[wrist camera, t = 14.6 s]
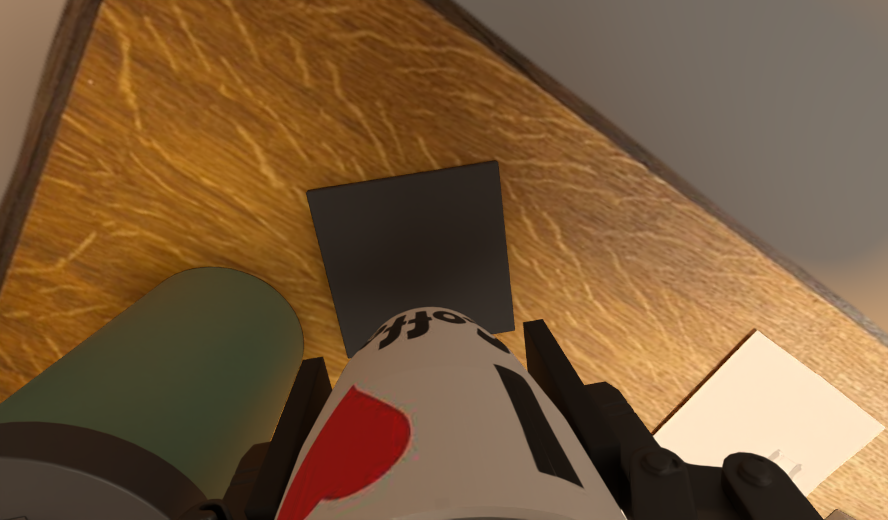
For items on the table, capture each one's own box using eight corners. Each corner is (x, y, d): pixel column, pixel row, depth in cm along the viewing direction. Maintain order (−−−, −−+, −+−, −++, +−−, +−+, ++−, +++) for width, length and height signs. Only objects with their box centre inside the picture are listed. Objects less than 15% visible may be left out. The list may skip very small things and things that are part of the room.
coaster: (496, 160, 26) (498, 161, 25) (513, 326, 30) (515, 330, 29) (307, 190, 26) (305, 192, 25) (348, 354, 29) (347, 359, 29)
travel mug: (325, 395, 30) (252, 668, 16) (168, 421, 30) (-55, 726, 15) (284, 248, 27) (138, 428, 12) (104, 277, 26) (-266, 497, 12)
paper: (744, 321, 31) (755, 329, 30) (892, 418, 35) (906, 428, 34) (533, 556, 37) (537, 568, 36) (681, 615, 41) (687, 628, 40)
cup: (530, 258, 16) (703, 475, 7) (532, 437, 19) (657, 766, 10) (304, 281, 16) (159, 546, 6) (340, 460, 19) (275, 829, 9)
